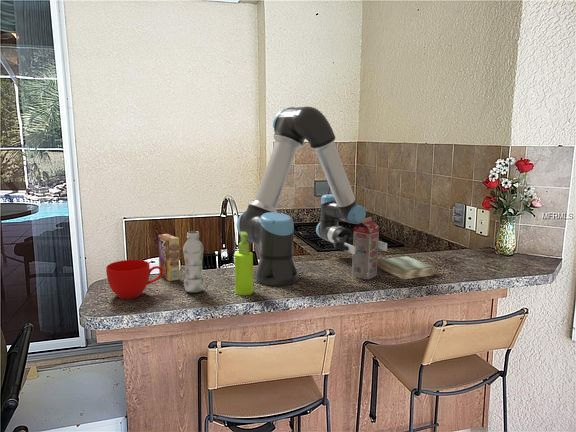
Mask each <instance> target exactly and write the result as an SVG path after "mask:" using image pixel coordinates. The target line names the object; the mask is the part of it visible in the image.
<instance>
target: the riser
mask: <svg viewBox="0 0 576 432" xmlns="http://www.w3.org/2000/svg"><path fill="white" fill-rule="evenodd" d="M377 269H381V270H383V271H385V272H386V273H389V274H392V275H393V276H396V277H398V278H400V279H402V280H408V279H415V278H417V279H418V278H423V277H429V276H430V277H431V276H434V275H435V269H436V268H435V266H433V265H431V264H428V263H425V262H424V261H420V260H418V259H415V258H413V257H411V256H408V255H407V256H406V255H405V256H397V257H391V258H390V257H389V258H381V259H378V261H377Z"/></svg>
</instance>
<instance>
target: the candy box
mask: <svg viewBox="0 0 576 432" xmlns="http://www.w3.org/2000/svg"><path fill="white" fill-rule="evenodd" d="M157 236H158V238H157V239H158V266H159V267H161V268H162V275H161V277H162V278H163V279H165V280H167V281H168V282H173V281H178V280H180V278H181V277H180V275H181V274H180V271H181V270H180V237H177V236H175V235H172V234H169V233H164V234H163V233H162V234H158V235H157ZM158 270H159V271H158V272H159V274H160V269H158ZM161 277H160V278H161Z"/></svg>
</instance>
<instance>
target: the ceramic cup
mask: <svg viewBox="0 0 576 432" xmlns="http://www.w3.org/2000/svg"><path fill="white" fill-rule="evenodd" d="M157 269H158V270H159V269H160V274H159V275H158V276H157V277H155V278H153V279H152V280H149V279H150V275H151V273H152V271H153V270H157ZM105 270H106V278H107V281H108V285H109V287H110V289H111V291H112V292H113V293H114V294H115V295H116V296H117V297H118V298H120V299H124V300H129V299H135V298H138V297H140V296H141V295H142V293H143V292H144V291H145V289H146V288H147V286H148V285H150V284H152V283H155V282H156V281H158V280H159V279H160V278H161V275H162V268H161V267H159V265H156V266H152V267H150V263H149V262H148V261H145V260H141V259H124V260H119V261H115V262H112V263H109V264H108V265H107V266H106V268H105Z"/></svg>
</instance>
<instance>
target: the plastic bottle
mask: <svg viewBox="0 0 576 432" xmlns="http://www.w3.org/2000/svg"><path fill="white" fill-rule="evenodd" d="M199 238H200V232H199V231H196V230H191V231H190V230H189V231H187V233H186V239H187V240H186V241H185V243H184V244H183V246H182V252H183V258H184V264H185V265H184V266H185V271H184V272H185V273H184V274H185V275H184V281H183V287H184V290H185V291H186V292H188V293H193V294H195V293H199V292H200V293H201V292H202V291H203V290H204V289H205V285H206V284H205V283H206V282H205V277H204V272H203V258H204V245H203V244H202V242H201V241H200V240H199Z"/></svg>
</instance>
